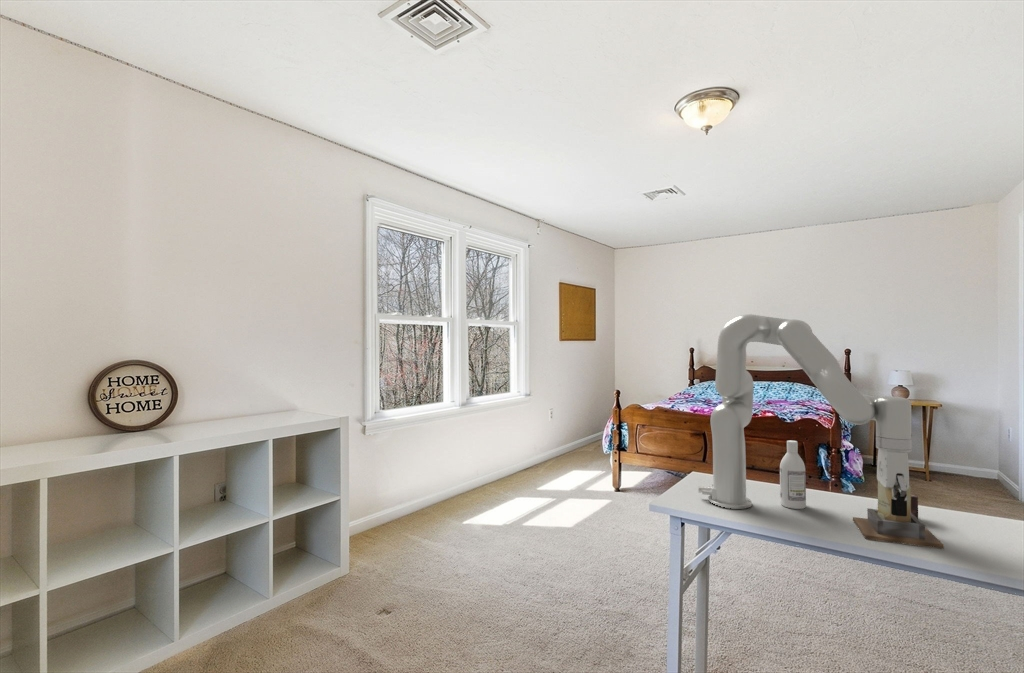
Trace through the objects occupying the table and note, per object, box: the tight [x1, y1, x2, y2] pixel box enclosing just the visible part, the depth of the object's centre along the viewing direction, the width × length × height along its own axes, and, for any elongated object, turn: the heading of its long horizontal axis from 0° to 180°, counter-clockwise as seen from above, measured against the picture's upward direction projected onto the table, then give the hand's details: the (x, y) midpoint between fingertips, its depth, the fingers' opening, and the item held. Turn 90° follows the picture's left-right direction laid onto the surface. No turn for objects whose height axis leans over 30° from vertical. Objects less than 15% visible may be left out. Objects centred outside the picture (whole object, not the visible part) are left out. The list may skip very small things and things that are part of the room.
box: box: [911, 493, 919, 520], centre depth 143 cm, size 6×6×7 cm
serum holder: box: [852, 507, 945, 549], centre depth 132 cm, size 16×14×4 cm
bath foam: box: [779, 439, 807, 510], centre depth 155 cm, size 7×7×20 cm
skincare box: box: [877, 480, 912, 523], centre depth 132 cm, size 6×4×12 cm
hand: (893, 509), depth 132 cm, fingers open, 7 cm apart
